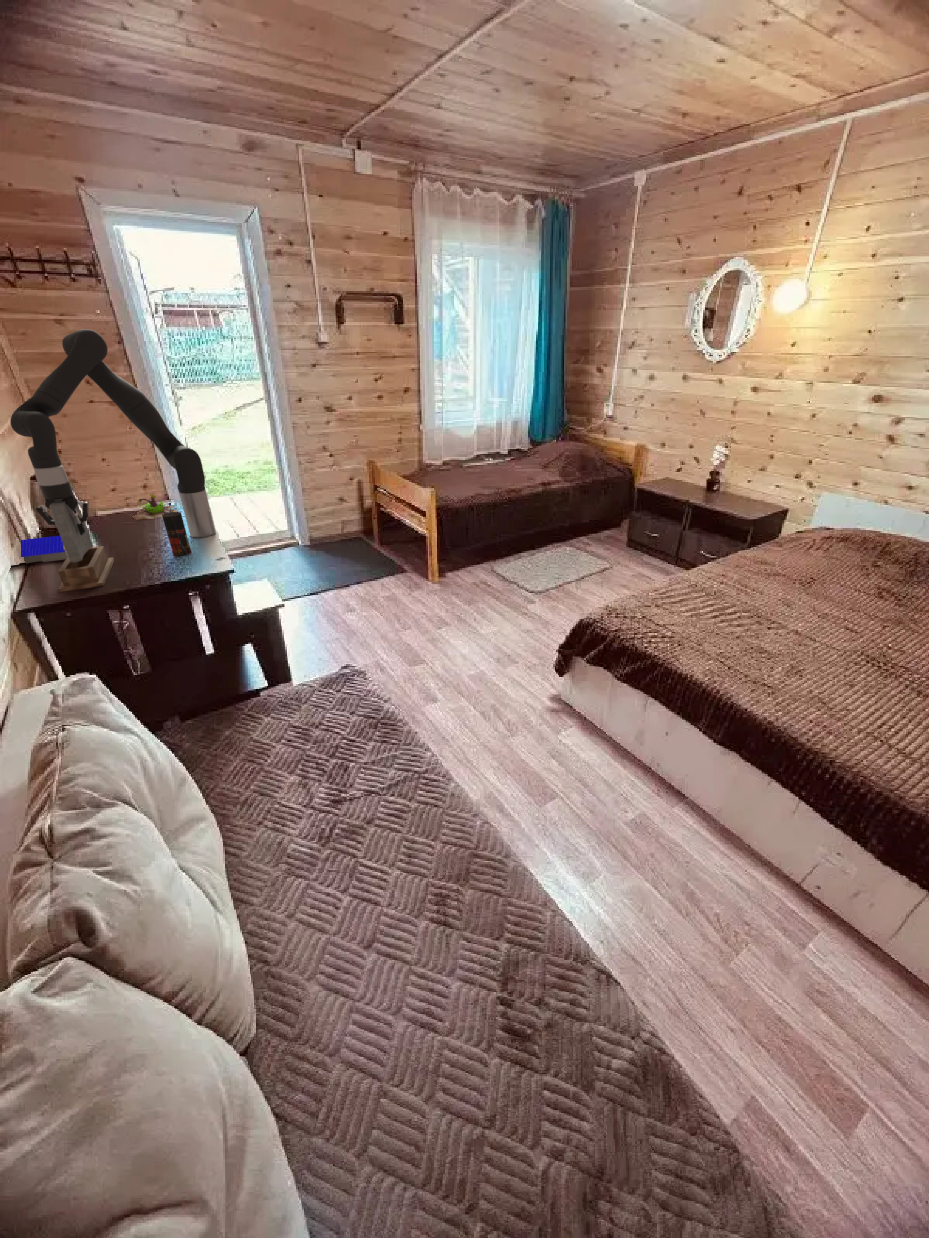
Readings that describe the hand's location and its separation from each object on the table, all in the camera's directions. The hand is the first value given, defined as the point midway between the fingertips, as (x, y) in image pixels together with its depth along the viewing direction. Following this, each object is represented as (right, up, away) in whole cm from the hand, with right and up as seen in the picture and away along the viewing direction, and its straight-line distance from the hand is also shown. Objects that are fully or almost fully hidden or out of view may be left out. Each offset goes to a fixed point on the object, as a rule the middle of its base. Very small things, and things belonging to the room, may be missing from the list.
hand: (73, 535), depth 166 cm
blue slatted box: (-29, -5, +21) cm, 36 cm away
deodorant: (+22, -3, +23) cm, 32 cm away
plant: (-11, +18, +64) cm, 68 cm away
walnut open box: (0, -12, +6) cm, 14 cm away
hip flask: (0, -6, +3) cm, 6 cm away
